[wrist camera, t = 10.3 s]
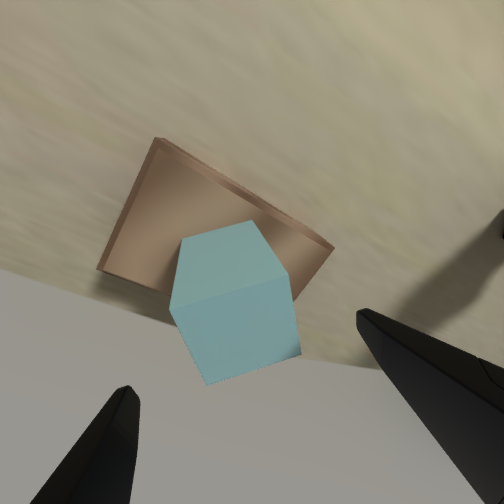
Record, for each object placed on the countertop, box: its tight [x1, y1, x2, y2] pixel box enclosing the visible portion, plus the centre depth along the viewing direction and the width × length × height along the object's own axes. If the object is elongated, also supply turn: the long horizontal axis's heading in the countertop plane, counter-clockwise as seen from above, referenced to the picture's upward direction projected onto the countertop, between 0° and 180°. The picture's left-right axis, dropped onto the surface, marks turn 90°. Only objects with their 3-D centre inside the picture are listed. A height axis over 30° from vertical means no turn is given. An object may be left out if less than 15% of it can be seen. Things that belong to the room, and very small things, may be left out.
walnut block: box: [96, 137, 335, 302], centre depth 18 cm, size 14×9×4 cm, turn 57°
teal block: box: [169, 220, 301, 385], centre depth 13 cm, size 5×5×7 cm
